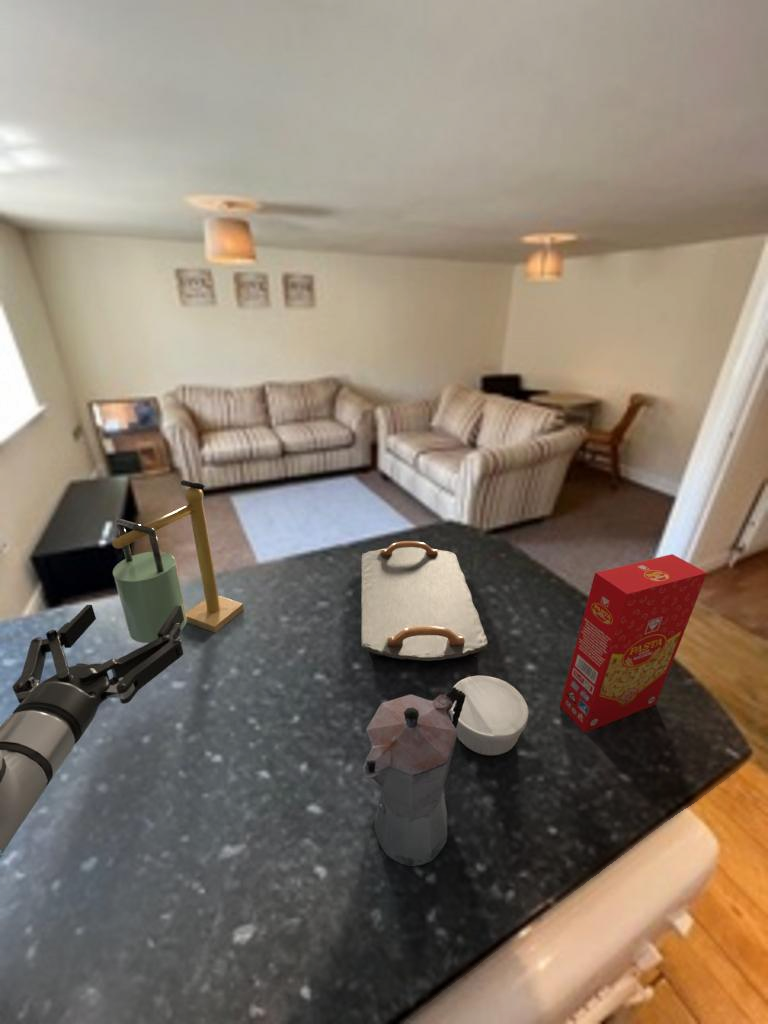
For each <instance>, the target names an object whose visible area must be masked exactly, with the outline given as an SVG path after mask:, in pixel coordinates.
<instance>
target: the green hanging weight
mask: <svg viewBox="0 0 768 1024" xmlns="http://www.w3.org/2000/svg"><path fill="white" fill-rule="evenodd" d="M115 524H116V528H117V532H118V537H120V536H122V535H124V534H126V533H127V531H126V528H127V529H130V530H132V531H133V530H137V531H140V532H143V533H147V534H148V538H149V542H150V548H151V551H146V552H141V553H138V554H134V555H132V554H133V553H132V551H131V547H130V544H128V545H126V546H124V547H122V548H121V549H122V552H123V555H124V559H123V560H121V561H119V563H117V564H116V565H115V566H114V568H113V570H112V576H113V580H114V583H115V587H116V591H117V594H118V599H119V602H120V605H121V608H122V613H123V616H124V621H125V623H126V627H127V630H128V634H129V636H130V638H131V639H132V641H135V642H138V643H142V644H148V643H150V642H152V641H154V640H156V639H158V632H159V631H160V629H161V628H162V626H163V625H164V623H165V622H166V620H167V619H168V617H169V616H170V614H171V613H172V611H173V610H174V608H175V607H176V606H181V608H182V612H183V617H184V621H183V622H182V624H181V625H180V629H181V631H182V630H183V629H184V628H185V627H186V624H187V623H188V622H187V615H186V613H187V609H186V605H185V601H184V596H183V591H182V586H181V582H180V576H179V572H178V565H177V562H176V558H175V556H173V554H171V553H169V552H165V551H161V550H160V546H159V541H158V536H157V533H156V531H155V529H153V528H150V527H147V526H143V525H142V524H139V523H136V522H132V521H129V520H125V519H122V518H117V519H116V520H115Z"/></svg>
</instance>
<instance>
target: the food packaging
mask: <svg viewBox="0 0 768 1024" xmlns="http://www.w3.org/2000/svg"><path fill="white" fill-rule="evenodd" d="M707 574H708V572H707V571H705V570H703V569H702V568H700V567H698V566H696V565H694V564H692V563H690V562H688V561H687V560H685V559H682V558H680V557H679V556H677V555H675V554H672V553H671V554H666V555H662V556H658V557H654V558H649V559H646V560H642V561H638V562H633V563H629V564H623V565H621V566H616V567H612V568H607V569H603V570H599V571H595V572H594V575H593V578H592V582H591V587H590V591H589V594H588V598H587V602H586V605H585V609H584V612H583V616H582V621H581V624H580V627H579V632H578V636H577V639H576V643H575V647H574V651H573V655H572V657H571V658H572V659H571V661H570V666H569V670H568V674H567V678H566V681H565V685H564V688H563V693H562V695H561V699H560V703H559V707H560V708H561V709H562V710H563V711H564V712H565V714H567V716H569V718H570V719H571V720H572V721H573V722H574V723H575V725H577V726H578V727H579V729H580V730H581V731H582V732H583V733H589V732H591V731H593V730H596V729H598V728H601V727H603V726H606V725H608V724H611V723H613V722H615V721H619V720H620V719H623V718H625V717H629V716H631V715H633V713H634V714H636V713H639V712H641V711H644V710H646V709H648V707H649V708H651V707H653V705H654V706H656V705H657V702H658V701H659V697H660V695H661V693H662V691H663V688H664V685H665V682H666V680H667V678H668V675H669V672H670V669H671V668H672V665H673V662H674V659H675V657H676V655H677V652H678V649H679V646H680V644H681V642H682V639H683V636H684V633H685V632H686V629H687V626H688V623H689V621H690V619H691V616H692V614H693V611H694V609H695V605H696V603H697V601H698V598H699V596H700V593H701V590H702V588H703V585H704V582H705V580H706V577H707ZM655 704H656V705H655ZM643 709H644V710H643ZM640 710H641V711H640ZM638 711H639V712H638ZM635 712H636V713H635Z"/></svg>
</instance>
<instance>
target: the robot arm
mask: <svg viewBox="0 0 768 1024" xmlns="http://www.w3.org/2000/svg"><path fill="white" fill-rule="evenodd" d="M96 620H97V616H96V614H95V610H94V607H93V604H86V605H85V606H84V607H83V608H82V609H81V610H80V611H79V612H78V613H77V614H76V615H75V616H74V617H73V618H72V619H71V620H70V621H69V622H66V623H65V624H63V625H62V626H61V627H60V629H58V630H56V629H50V630H48V631H47V632H46V633H45V636H46V638H42V637H40V636H39V637H35V638H33V639H31V641H30V645H29V648H28V650H27V655H26V657H25V661H24V665H23V668H22V672H21V675H20V676H19V678H18V679H17V680H16V681H15V683H14V684H13V685H12V690H13V692H14V695H15V697H16V699H17V701H18V705H17V707H16V708H15V709H14V710H13V712H12V714H10V715H9V716H8V717H7V718H6V719H5V720H4V721H3V723H1V725H0V858H1V857H3V855H4V853H5V849H6V848H8V846H9V844H10V842H11V841H12V839H13V838H14V837H15V836H16V833H18V831H19V829H20V827H21V826H22V824H23V823H24V821H25V820H26V819H27V817H28V816H29V814H30V813H31V811H32V810H33V808H34V806H35V805H36V803H37V802H38V800H39V799H40V797H41V796H42V794H43V793H44V792H45V790H46V788H47V787H48V785H49V784H50V782H51V781H52V779H54V777H55V775H56V773H57V772H58V771H59V769H60V768H61V767H62V765H63V764H64V762H65V761H66V759H67V758H68V757H69V755H70V753H71V752H72V750H73V748H74V746H75V744H77V742H79V741H80V739H81V738H82V736H83V735H84V734H85V732H86V730H87V729H88V728H89V726H90V725H91V724H92V722H93V720H94V718H95V716H96V715H97V711H98V709H99V707H100V705H101V704H102V703H103V702H104V701H106V700H107V699H109V698H114V699H119V702H120V703H121V704H123V705H125V704H128V703H130V702H131V701H132V700H133V698H134V697H135V696H136V694H137V693H138V692H139V691H140V690H141V689H142V688H144V687H145V686H146V685H147V684H148V683H150V682H151V681H153V679H155V678H156V677H158V675H160V674H161V673H162V672H163V671H165V670H167V669H168V668H169V667H170V666H171V665H173V664H174V663H175V662H176V661H177V660H179V659H180V658H181V657H183V655H184V650H183V645H182V644H183V643H182V640H181V638H179V637H180V635H181V634H182V630H181V629H180V625H181V624H182V622H183V621H184V617H183V612H182V608H181V606H176V607H175V608H174V610H173V611H172V613H171V614H170V616H169V617H168V619H167V620H166V622H165V623H164V625H163V626H162V628H161V629H160V631H159V632H158V639H156V640H154V641H152V642H150V643H145V644H144V645H143V646H141V647H138V648H137V649H135V650H133V651H131V652H129V653H127V654H125V655H123V656H121V657H119V658H117V659H115V658H111V659H109V660H107V661H105V662H103V663H90V664H89V663H88V664H87V663H81V662H80V663H76V664H75V665H72V666H70V667H69V664H68V661H67V658H66V654H65V651H64V649H70V648H72V647H73V646H74V645H75V643H76V642H77V641H78V640H79V639H80V638H81V636H82V635H84V633H85V632H86V631H87V630H88V629H89V628H90V626H92V624H93V623H94V622H95V621H96ZM63 646H64V648H63ZM47 653H51V656H52V660H53V664H54V668H55V672H56V673H55V674H54V675H52V676H51V677H49V678H47V679H45V680H43V681H41V680H42V676H43V670H44V667H45V662H46V657H47ZM109 671H111V672H112V677H111V678H110V677H109V673H108V672H109Z"/></svg>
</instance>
